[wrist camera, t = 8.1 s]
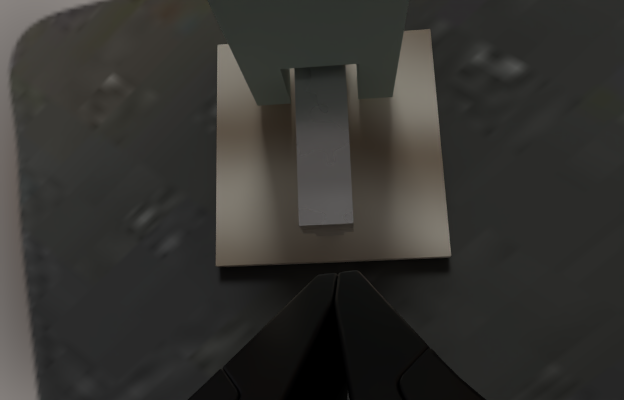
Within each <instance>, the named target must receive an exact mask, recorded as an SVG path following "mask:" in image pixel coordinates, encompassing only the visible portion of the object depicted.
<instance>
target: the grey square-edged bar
mask: <svg viewBox="0 0 624 400" xmlns="http://www.w3.org/2000/svg"><path fill="white" fill-rule="evenodd" d="M294 72H295V108H296V144H297V180H298V215H299V227H300V228H301V230H302V231H303V233H304V234H316V236H331V235H344V232H354V222H353V202H352V183H351V164H350V144H349V125H348V106H347V86H346V67H345V65H333V66H319V67H305V68H294Z"/></svg>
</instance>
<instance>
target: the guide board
mask: <svg viewBox="0 0 624 400" xmlns="http://www.w3.org/2000/svg"><path fill="white" fill-rule="evenodd" d="M345 67H346V86H347V106H348V125H349V144H350V164H351V183H352V202H353V222H354V232H344V235H331V236H316V234H304V233H303V231H302V230H301V228H300V227H299V215H298V180H297V144H296V108H295V72H294V68H290V94H291V104H276V105H261V106H257V104H256V102H255V99H254V97H253V95H252V93H251V91H250V89H249V87H248V85H247V83H246V80H245V78H244V76H243V74H242V72H241V70H240V68H239V66H238V64H237V61H236V59H235V57H234V55H233V53H232V51H231V49H230V47H229V45H228V44H224V45H218V59H217V188H216V266H217V267H237V266H261V265H285V264H309V263H333V262H357V261H382V260H406V259H430V258H449V257H451V249H450V239H449V228H448V217H447V206H446V195H445V185H444V174H443V163H442V152H441V141H440V130H439V120H438V109H437V98H436V87H435V76H434V66H433V55H432V44H431V33H430V29H426V30H413V31H404V33H403V39H402V45H401V50H400V56H399V62H398V68H397V74H396V80H395V86H394V91H393V97H384V98H369V99H358V85H357V67H356V64H348V65H345Z"/></svg>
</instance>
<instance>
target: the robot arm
mask: <svg viewBox="0 0 624 400" xmlns="http://www.w3.org/2000/svg"><path fill="white" fill-rule="evenodd" d="M348 393H349V398H350V400H486V399H485V398H483V397H482V396H481V395H480V394H478V393H477V392H476V391H475V390H474V389H473V388H471V387H470V386H469V385H468V384H467V383H465V382H464V381H463V380H462V379H461V378H460V377H459V376H458V375H457V374H456V373H455V372H454V371H453V370H452V369H450V368H449V367H448V366H447V365H446V364H445V363H444V362H443V361H442V359H441V358H440V357H439V356H438V355H437V354H436V353H435V352H434V351H433V350H432V349H430V347H429V346H428V345H427V344H426V343H425V342H424V341H423V340H422V339H421V338H420V336H419V335H418V334H417V333H416V332H415V331H414V330H413V329H412V328H411V327H410V326H409V324H408V323H407V322H406V321H405V320H404V319H403V318H402V317H401V316H400V315H399V314H398V313H397V311H396V310H395V309H394V308H393V307H392V306H391V305H390V304H389V303H388V302H387V301H386V300H385V298H384V297H383V296H382V295H381V294H380V293H379V292H378V291H377V290H376V289H375V288H374V287H373V285H372V284H371V283H370V282H369V281H368V280H367V279H366V278H365V277H364V276H363V275H362V274H361V272H360V271H358V270H354V271H346V272H340V273H339V275H337V274H336V273H329V274H321V275H318V276H316V277H315V278H314V279H313V280H312V281H311V282H310V283H309V284H308V285H307V286H306V287H305V288H304V289H303V290H302V291H301V292H300V293H299V294H297V295H296V296H295V297H294V298H293V299H292V300H291V301H290V302H289V303H288V304H287V305H286V306H285V307H284V308H283V309H282V310H281V311H280V312H279V313H278V314H277V315H276V316H275V317H274V318H273V319H272V320H271V321H270V322H269V323H268V324H267V325H266V326H265V327H264V328H263V329H262V330H261V331H260V332H259V333H258V334H257V335H256V336H254V337H253V338H252V339H251V340H250V341H249V342H248V343H247V344H246V345H245V346H244V347H243V348H242V349H241V350H240V351H239V352H238V353H237V354H236V355H235V356H234V357H233V358H232V359H231V360H230V361H229V362H228V363H227V364H226V365H225V366H224V367H223V370H222V369H220V370H219V371H218V372H217V373H216V374H215V375H214V376H212V377H211V378H210V379H209V380H208V381H207V382H206V383H205V384H204V385H203V386H202V387H201V388H200V389H199V390H198V391H197V392H195V393H194V394H193V395H192V396H191V397H190V398H189V399H188V400H347V394H348Z"/></svg>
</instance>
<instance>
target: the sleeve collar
mask: <svg viewBox="0 0 624 400" xmlns="http://www.w3.org/2000/svg"><path fill="white" fill-rule="evenodd" d="M208 2H209V5H210V7H211V9H212V11H213V13H214V15H215V17H216V19H217V21H218V24H219V26H220V28H221V30H222V32H223V34H224V36H225V38H226V40H227V43H228V45H229V47H230V49H231V51H232V53H233V55H234V57H235V59H236V61H237V64H238V66H239V68H240V70H241V72H242V74H243V76H244V78H245V80H246V83H247V85H248V87H249V89H250V91H251V93H252V95H253V97H254V99H255V102H256V104H257V106H261V105H276V104H291V94H290V68H305V67H319V66H333V65H348V64H356V67H357V85H358V99H369V98H384V97H393V91H394V86H395V80H396V74H397V68H398V62H399V56H400V50H401V45H402V39H403V33H404V27H405V21H406V15H407V9H408V4H409V0H208Z"/></svg>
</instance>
